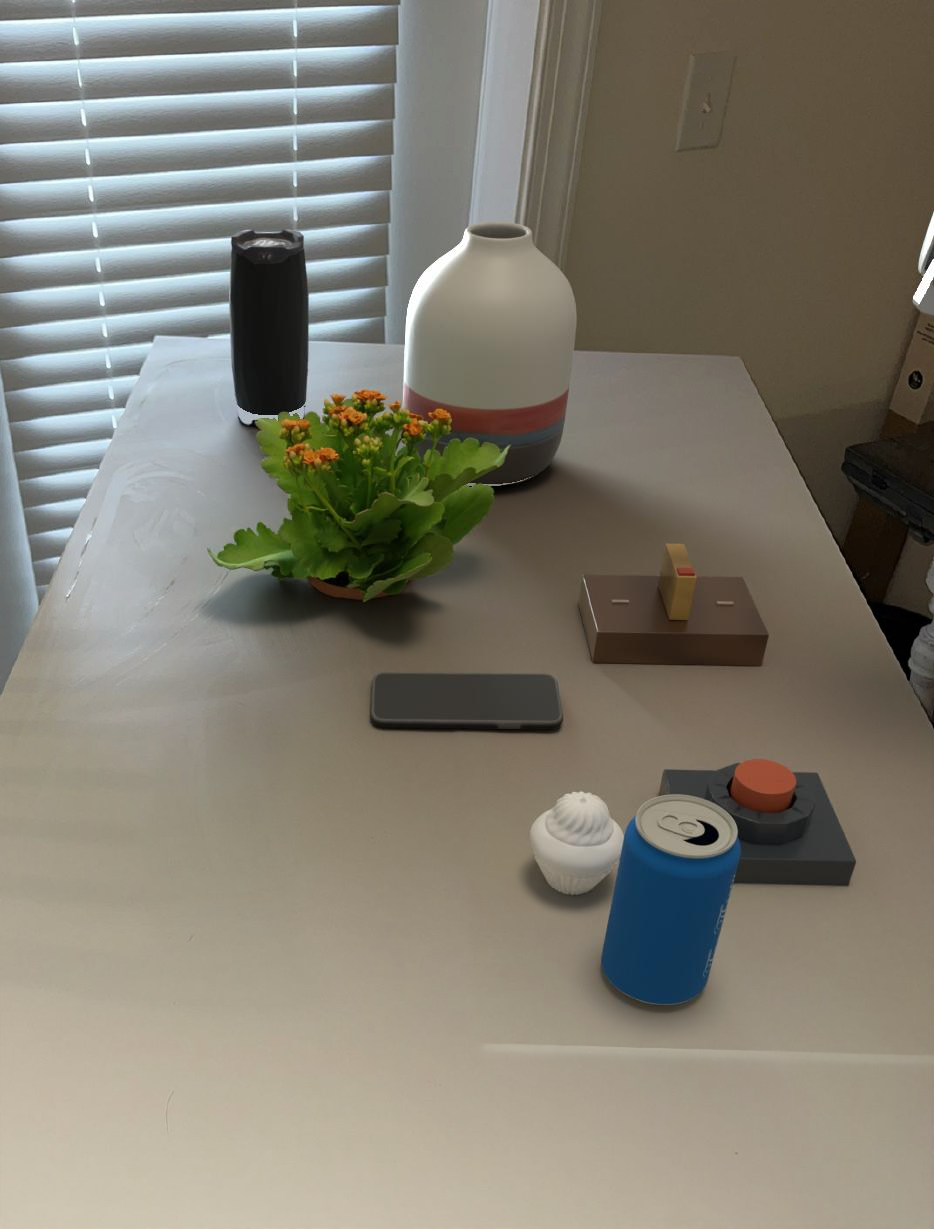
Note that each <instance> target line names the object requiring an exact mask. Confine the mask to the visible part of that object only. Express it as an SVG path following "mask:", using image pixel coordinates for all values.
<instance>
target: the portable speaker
mask: <svg viewBox="0 0 934 1229" xmlns="http://www.w3.org/2000/svg"><path fill="white" fill-rule="evenodd" d="M230 238H231V239H230V244H231V251H230V269H229V270H230V271H229V284H228V286H229V288H228V306H229V308H228V310H229V311H228V312H229V333H230V334H229V336H230V360H231V361H230V362H231V371H232V380H233V388H234V396H235V402H236V406H237V405H238V406H239V407H240V408H242V409H243V410H245V411H247V412H250V413H252V414H258V415H279V414H280V413H281V412H288V413H289V412H292V411H294V410H297V409H299V408H301V407H302V406H303V405H304V404H305V402H306V403H307V392H308V390H307V389H308V375H309V355H310V354H309V350H310V349H309V337H310V336H309V331H310V330H309V329H310V328H309V327H310V326H309V323H310V321H309V320H310V319H309V312H310V311H309V310H310V307H309V304H310V299H309V298H310V296H309V295H310V294H309V284H308V273H307V272H308V271H307V264H306V255H305V247H304V243H305V241H304V240H305V237H304V234H302V232H301V231H299V230H298V231H297V230H293V229H282V230H281V231H254V230H253V229H245V230H241V231H237V232H234V234H233V235H232V236H231V237H230Z"/></svg>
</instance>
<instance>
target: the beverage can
mask: <svg viewBox="0 0 934 1229" xmlns="http://www.w3.org/2000/svg"><path fill="white" fill-rule="evenodd" d="M737 834H738V830H737V825H736V823H735V821H734V820H733V818H732V817H731V816H730V815H729V813H727V812H726V811H725V810H724V809H722V808H721V807H719V806H718V805H716V804H714V803H712V802H710V801H707V800H705V799H702V798H698V797H694V796H689V795H679V794H671V795H663V796H659V795H658V796H655V797H653V798H650V799H648V800H646V801H645V802H644V803H642V804H641V805H640V806H639V807H638V809H637V811H636V815H635V816H633V817H632V818H631V819H630V820H629V822H628V824H627V826H626V828H625V831H624V834H623V835H624V840H623V845H622V850H621V856H620V859H619V860H618V867H617V872H616V877H615V882H614V889H613V893H612V899H611V904H610V909H609V914H608V920H607V925H606V931H605V935H604V940H603V947H602V952H601V958H600V963H601V968H602V971H603V974H604V976H605V977H606V979H607V980H608V981H609V983H611V985H612V986H613V987H615V988H616V989H617V990H618V991H620V993H623V994H624V995H626V996H628V997H630V998H631V999H634V1000H636V1001H639V1002H642V1003H646V1004H650V1005H657V1006H658V1005H659V1006H667V1005H668V1006H672V1005H679V1004H682V1003H685V1002H688V1001H690V1000H693V999H695V998H696V997H697V996H699V995H700V994H701V993H702V992H703V990H704V989H705V988H706V986H707V984H708V981H709V978H710V973H711V970H712V965H713V962H714V957H715V953H716V951H717V947H718V943H719V938H720V934H721V932H722V927H723V923H724V920H725V916H726V912H727V909H728V908H727V907H728V905H729V901H730V897H731V893H732V889H733V885H734V883H733V882H734V878H735V874H736V870H737V866H738V862H739V859H740V854H741V847H740V842H739V839H738V837H737Z"/></svg>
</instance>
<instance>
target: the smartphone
mask: <svg viewBox="0 0 934 1229" xmlns="http://www.w3.org/2000/svg"><path fill="white" fill-rule="evenodd" d="M559 688H560V687H559V682H558V680H557V678H556V677H555V676H554V675H552V674H549V673H519V672H518V673H517V672H516V673H515V672H514V673H510V672H509V673H508V672H507V673H506V672H505V673H504V672H503V673H502V672H501V673H500V672H398V671H397V672H394V671H393V672H392V671H391V672H389V671H388V672H386V671H384V672H379V673H376V674H375V675H374V676H373V677H372V679H371V688H370V690H371V691H370V692H371V693H370V714H369V715H370V720H371V722H372V723H373V725H374V726H376V727H379V728H398V729H399V728H402V729H403V728H404V729H405V728H406V729H408V728H409V729H410V728H411V729H478V730H479V729H481V730H482V729H485V730H487V729H488V730H493V729H494V730H555V729H558V728H560V727H561V726H562V724H563V722H564V712H563V707H562V701H561V693H560V689H559Z"/></svg>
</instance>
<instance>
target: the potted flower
mask: <svg viewBox="0 0 934 1229" xmlns="http://www.w3.org/2000/svg"><path fill="white" fill-rule="evenodd" d="M329 396H330V397H331V398H330V399H331V400H332V402H333V403H332V402H330V400H329V399H328V398H324V400H323V405H324V407H323V408H322V413H323V415H322V416H320V415H318V414H317V413H316V412H315V411H311V410H310V411H308V412H307V413H306V414H304V419H300V417H299V415H298V414H297V413H295V414H293V416H290V414H289V413H288V412H281V413H280V414H279V415H278V421H277V420H276V419H275V418H273V419H269V418H257V421H254V424H255V426H256V427H257V428H258V429H259V431H257V433H256V436H255V439H256V442H257V444H258V445H259V446H260V448H259V450H260V453H262V454H263V455H265V456H267V457H265V458H263V459H262V460H261V461H260V467H261V468H262V470H263V471H264V472H265V473H266V474H268V477H269V478H271V479H274V480H275V479H276V481H275V484H276V486H277V487H278V488H279V489H281V490H282V491H283V492H284V493H285V494H289V497H287V500H286V505H287V510H288V512H289V515H290V516H291V518H287V517H283V519H282V523H281V524H280V526H279V528H278V530H277V533H276V532H275V531H274V530H272V528H270V527H267V525H266V524H265V523H264V522H262V521H258V522H257V523H256V527H255V528H256V529H255V531H254V530H253V529H252V528H251V527H249V526H247V527H246V529H245V528H239V529H236V531H234V533H233V541H234V543H231V542H230V543H226V544H225V545H224V546H223V549H222V550H220V551H219V552H218V553H217V555H216V554H215V553H214V551H212V550H211V548H210V547H207V548H206V549H207V553H208V555H209V557H211V560H212V561H213V562H214V564H215V565H216V566H217V567H220V568H223V567H224V568H225V569H227V570H229V571H233V570H238V569H242V568H244V569H247V570H248V569H249V570H251V571H253V572H259V571H262V570H264V569H265V570H266V571H269V569H271V568H272V571H271V572H270V576H271V577H272V578H274V579H275V578H276V579H279V580H285V579H290V580H291V579H295V580H305V579H307V580H308V582H309V583H310V585H311V586H313V587H314V588H315V589H317V591H318V592H321V593H323V594H325V595H327V596H329V597H333V598H338V599H339V598H342V599H349V600H357V601H362V602H363V603H365V602H367V601H369V600H371V599H378V598H382V597H387V596H391V595H392V596H394V595H397V594H399V593H400V592H402V590H403V588H405V587H407V585H408V582H409V581H413V580H419V579H424V578H428V577H430V576H434V575H436V574H439V573H440V572H442V571H444V570H446V569H447V568H448V567H449V565H450V564H451V563H453V561H454V560H455V556H453V554H454V553H455V551H454V546H455V545H457V544H459V543H460V542H461V541H462V540H463V539H464V538H465V537H466V536H467V535H469V534H470V533H471V532H472V531H473V530H474V529H475V528H476V527H477V526H478V525H479V524H480V523H482V522H483V521H484V518H486V516H487V515H488V514H489V513H490V512H491V510H492V506H493V505H494V503H495V499H496V498H495V495H494V494H495V490H494V487H490V486H488V485H483V484H481V483H480V484H475V485H473V486H472V487H469V486H467V485H466V484H468V483H469V482H471V481H473V480H475V479H477V478H479V477H481V476H482V475H484V474H486V473H488V472H490V471H492V470H494V469H496V468H498V467H500V466H502V465H503V463H504V460H505V457H506V455H507V453H508V449H509V448H510V446H511V445H508V446H507V447H506V448H505V450H504V451H503V452H502V449H500V450H499V448H498V447H497V446H496V445H495V444H492V443H488V442H485V443H484V444H482V446H481V447H479V441H478V440H477V439H474V438H467V439H465V440H464V442H463V443H462V444H461V442H460V440H459V439H452V440H451V441H450V442H449V444H448V447H447V446H446V447H445V449H444V451H443V456H442V457H441V455H440V453H439V452H438V451H437V450H435V447H436V443H437V441H438V440H439V439H440V438H441V437H442V435H444V434H450V432H449V431H450V430H451V428H450V423H451V422H452V419H451V416H450V413H446V412H447V411H443V409H436V410H435V412H433V413H430V412H429V413H428V415H429V417H431V418H433V419H434V421H432V422H431V423H430V424H428V422H427V421H423V419H424V418H423V417H422V416H421V415H417V414H413V413H409V410H406V408H403V407H402V401H401V400H396V401H394V403H391V404H390V403H388V404H387V406H388V408H389V409H390V410H391V412H389V411H386V406H385V402H383V401H386V400H387V399H388V397H387V396H385V394H384V393H383V394H382V393H381V392H380V391H378V390H377V391H376V390H375V389H373V390H369V389H361V390H360V391H358V390H357V391H354V392H353V393H352V394H351V396H350V398H346V397H347V396H346V395H343V394H337V393H335V394H333V393H332V394H330V395H329ZM345 398H346V399H345ZM378 413H381V414H380V415H377V414H378ZM376 415H377V416H376ZM321 420H322V422H321ZM391 430H392V432H391V435H390V433H388V432H390V431H391ZM386 432H387V433H386ZM424 432H426V433H430V435H429V437H430V438H431V440H433V441H434V443H433V446H432V449H431V450H430V449H428V450H427V451H426V453H425V455H424V457H423V460H422V461H423V462H422V464H421V458H420V457H419V455H418V452H417V451H418V450H419V447H417V448H416V449H414V446H415V445H416V444H417V443H420V442H422V441H424V440H426V439H425V437H426V433H425V434H423V433H424ZM438 433H439V435H438ZM435 435H436V436H435ZM437 437H438V438H437ZM401 442H402V444H404V445H405V446H402V448H400V449H399V450H398V448H399V445H400V443H401ZM406 444H407V446H406ZM397 450H398V451H397ZM396 452H397V453H396ZM501 452H502V453H501ZM464 485H466V486H464Z"/></svg>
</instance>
